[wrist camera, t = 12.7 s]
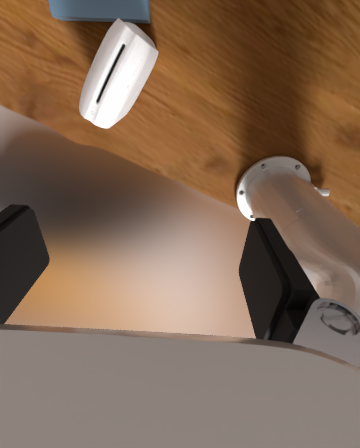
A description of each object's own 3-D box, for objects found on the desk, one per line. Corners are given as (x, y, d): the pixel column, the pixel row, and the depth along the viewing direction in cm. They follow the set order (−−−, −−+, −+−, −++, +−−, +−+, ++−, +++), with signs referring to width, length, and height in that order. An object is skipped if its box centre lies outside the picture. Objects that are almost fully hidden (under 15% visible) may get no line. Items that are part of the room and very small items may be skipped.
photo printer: (126, 119, 35) (103, 139, 24) (100, 101, 33) (64, 113, 23) (164, 50, 30) (155, 39, 20) (135, 25, 29) (110, -1, 18)
